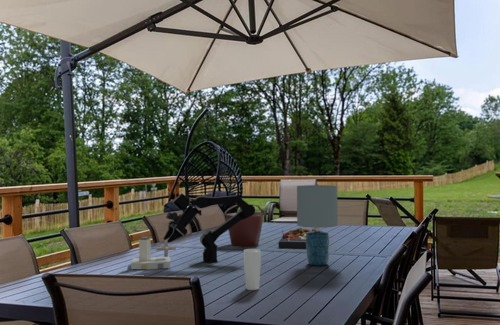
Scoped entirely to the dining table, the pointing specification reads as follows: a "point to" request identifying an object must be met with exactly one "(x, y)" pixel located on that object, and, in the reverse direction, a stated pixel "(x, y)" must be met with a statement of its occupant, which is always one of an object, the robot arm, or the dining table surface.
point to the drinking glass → (252, 268)
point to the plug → (144, 249)
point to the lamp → (317, 219)
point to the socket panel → (151, 263)
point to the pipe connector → (165, 248)
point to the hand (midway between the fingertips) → (165, 240)
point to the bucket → (246, 229)
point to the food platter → (294, 238)
